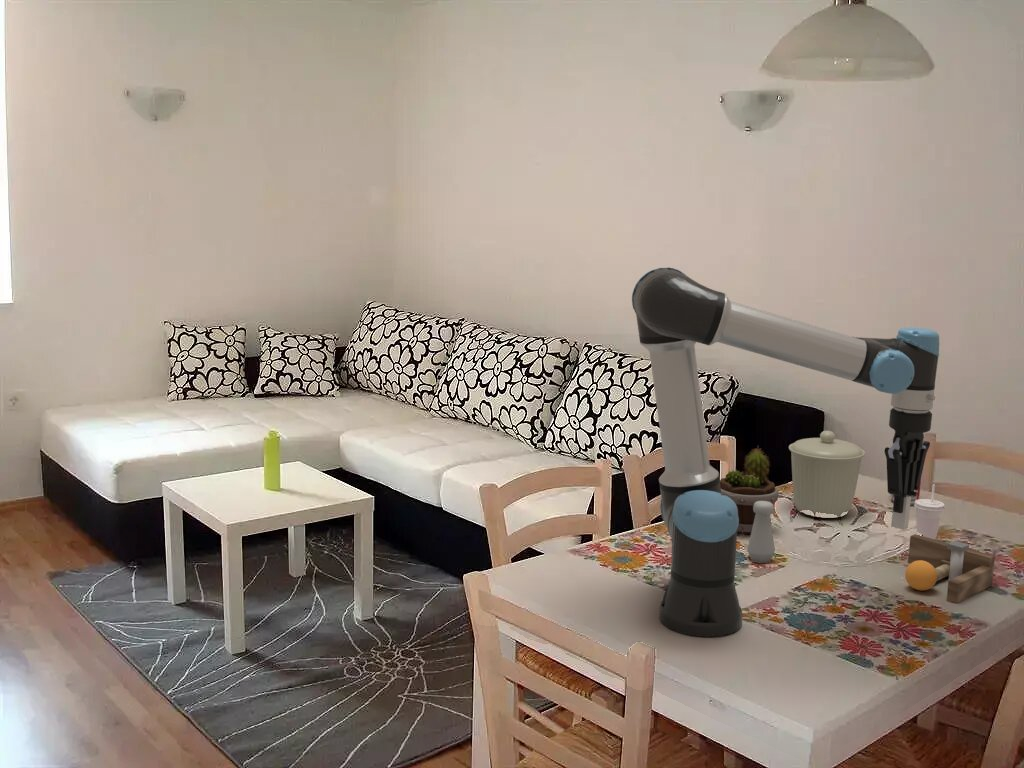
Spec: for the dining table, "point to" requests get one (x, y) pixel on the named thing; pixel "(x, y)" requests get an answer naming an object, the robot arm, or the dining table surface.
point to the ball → (921, 575)
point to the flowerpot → (749, 489)
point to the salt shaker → (762, 533)
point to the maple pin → (943, 569)
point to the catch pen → (973, 572)
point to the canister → (825, 473)
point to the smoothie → (928, 515)
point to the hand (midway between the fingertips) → (899, 527)
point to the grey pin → (956, 558)
